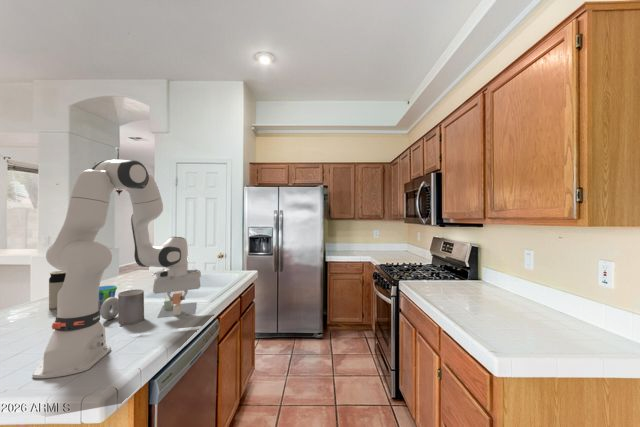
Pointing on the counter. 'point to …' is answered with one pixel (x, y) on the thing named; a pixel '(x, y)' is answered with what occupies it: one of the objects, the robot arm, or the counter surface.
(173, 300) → the terracotta brick
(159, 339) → the counter surface
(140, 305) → the pillar candle
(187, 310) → the baseplate
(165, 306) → the sage brick
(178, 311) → the cream brick
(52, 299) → the travel mug
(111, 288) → the snack cup
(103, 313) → the donut
